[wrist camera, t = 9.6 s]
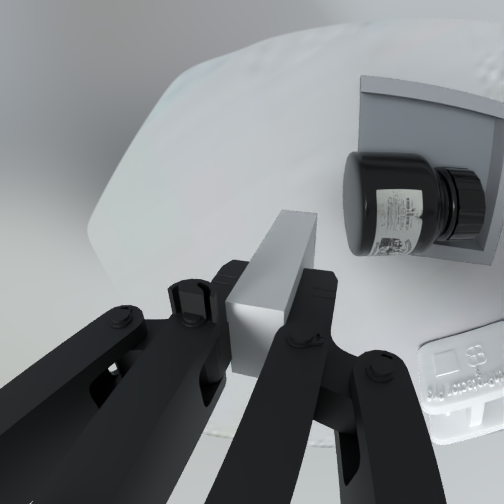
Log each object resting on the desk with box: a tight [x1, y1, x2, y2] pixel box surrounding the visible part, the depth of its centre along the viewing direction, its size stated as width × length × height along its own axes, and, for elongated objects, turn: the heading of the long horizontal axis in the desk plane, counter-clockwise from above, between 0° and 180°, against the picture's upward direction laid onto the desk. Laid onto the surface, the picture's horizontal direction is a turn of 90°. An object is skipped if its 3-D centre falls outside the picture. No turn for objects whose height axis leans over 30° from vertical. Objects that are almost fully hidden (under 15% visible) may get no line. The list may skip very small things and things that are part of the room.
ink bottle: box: [343, 152, 486, 256], centre depth 25 cm, size 10×9×12 cm
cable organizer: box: [417, 321, 504, 445], centre depth 31 cm, size 15×11×12 cm
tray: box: [358, 75, 504, 266], centre depth 26 cm, size 16×16×4 cm
